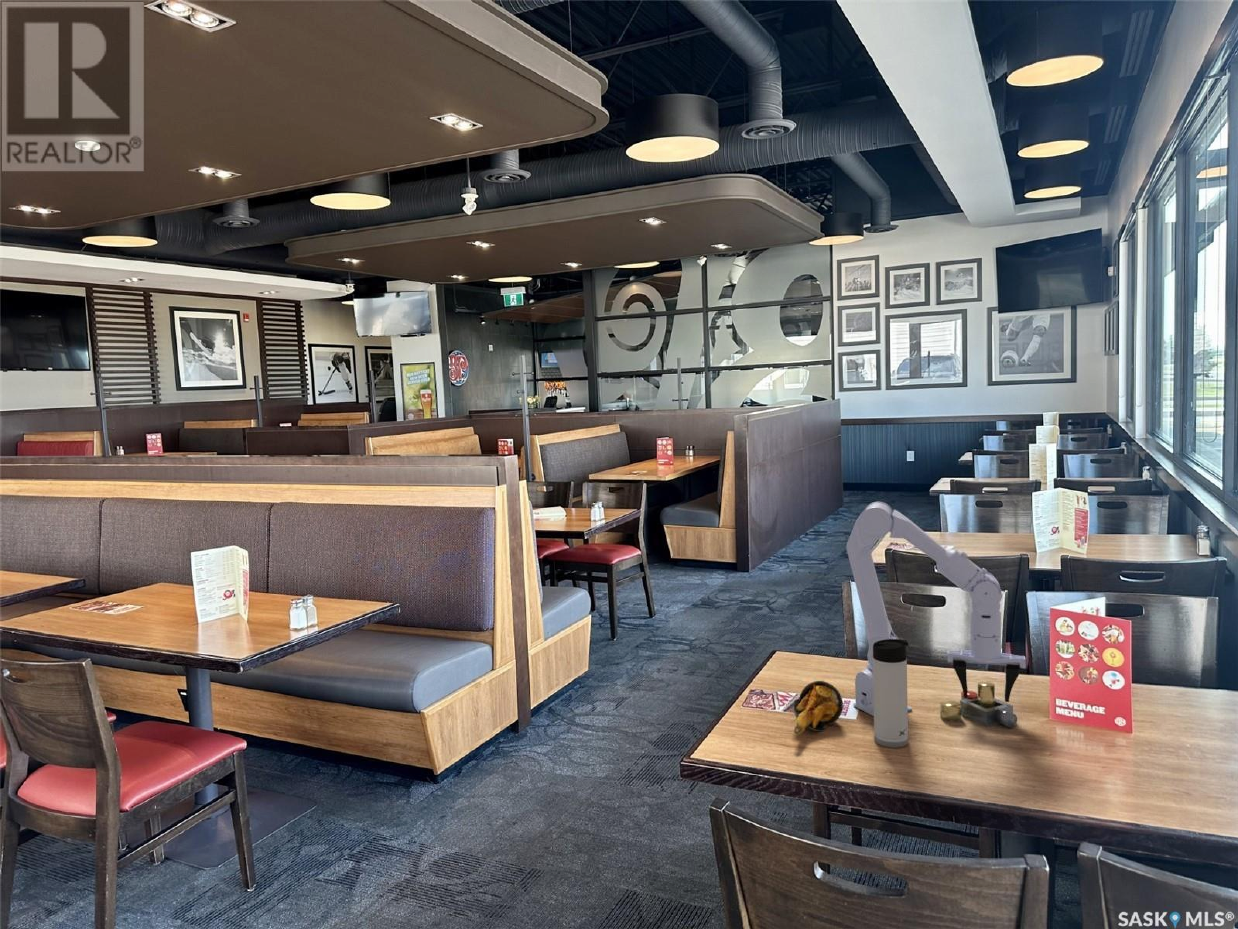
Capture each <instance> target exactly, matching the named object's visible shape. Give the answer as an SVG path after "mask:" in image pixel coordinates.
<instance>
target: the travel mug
mask: <svg viewBox="0 0 1238 929" xmlns="http://www.w3.org/2000/svg"><path fill="white" fill-rule="evenodd" d="M908 646H909V641H908V640H907V639H900V638H898V639H886V640H881V641H877V642H875V643H874V645H873V696H874V716H873V729H874V730H873V734H874V737H873V738H874V741H875V742H876V744H878V745H880V746H883V747H886V748H894V749H895V748H896V749H898V748H903V747H905V746H907V744H909V716H908V713H909V711H908V706H909V705H908V662H907V661H908V658H907V647H908Z"/></svg>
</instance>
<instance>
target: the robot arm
mask: <svg viewBox="0 0 1238 929" xmlns="http://www.w3.org/2000/svg"><path fill="white" fill-rule="evenodd" d="M888 533H890V534H889V538H890V539H891V538H892V539H903V540H905V541H907V542H908V543H910V544H911V545H912V546H914V547H915V548H917V549H918V550H919V551H921V552H922V553H924V555H926V556H928V557H929V558H931V560H933V561H935V562H936V569H937V572H939V574H941V575H942V576H944V577H945V578H946V579H948V580H949V581H950V582H952V583H953V584H954V585H956V586H957V588H959V589H960V590H961V591H964V592H967V593H969V597H970V599H971V608H970V610H969V611H970V612H969V618H970V619H969V621H970V626H969V627H970V628H969V629H970V631H969V633H970V636H969V638H970V641H969V642H970V649H969V650H968V649H967V650H966V649H965V650H947V663H953V666H952V668H953V670H954V672H955V673H956V675H957V678H958V680H959V682H960V685H961V689H962V692H963V693H964V698H968V691H969V690H968V682H967V681H968V680H967V679H968V678H967V663H969V664H979V665H981V664H982V665H993V666H1004V667H1005V671H1004V673H1005V684H1004V686H1005V688H1004V702H1005V703H1009V702H1010V697H1011V693H1012V690H1013V686H1014V684H1015V682H1016V681H1017V679H1018V678H1019V675H1020V672H1021V670H1020V669H1026V666H1027V664H1026V662H1027V660H1026V656H1025V655H1017V654H1016V655H1015V654H1011V653H1006V652H1005V653H1004V652H1002V613H1001V611H1000V609H1001V601H1002V599H1003V593H1002V588H1001V586H1000V583H999V581H998V579H997V578H996V577H995V576H994V575H993V574H992V573H991V572H988V570H987V569H986V568H984V567H982V568H981V567H980V566H978V565H977V564H975V563H974V562H973V561H972V560H970V559H969V558H968V554H967V553H966V552H965V551H964V550H962V551H961V552H960V551H958V550H957V549H946V548H945V547H943V546H942V545H941V544H940V543H938V542H937V541H936V540H935V539H934V538H933V537H931V536H930V535H929V534H928V533H927V532H925V531H924V530H923V529H922V528H920V526H918V525H917V524H915V523H914V522H913V521H912V520H911V519H910V518H908V517H907V516H905V515H904V514H902V513H901V512H900V511H898V510H897V509H893V508H892V507H891V506H890V505H889V504H888V503H886V502H883V501H874V502H871V503H869V504H868V505H867V506H866V507H865V508H864V509H863V511H862V512H861V513H860V514H859V516H858V517H857V519H856V520H855V522H854V525H853V528H852V529H851V533H850V535H849V538H848V540H847V543H846V544H845V545H846V553H847V557H848V559H849V563H850V564H849V565H850V567H851V568H850V569H851V572H852V576H853V580H854V585H855V587H856V590H857V595H858V599H859V603H860V606H861V607H860V608H861V611H862V615H863V620H864V622H865V626H866V628H865V629H866V638H867V643H868V650H867V655H866V656H867V662H866V666H865V668H864V669H863V670H861V671H858V672H857V673H856V675H855V679H854V683H855V684H854V685H855V686H854V687H855V689H854V690H855V702H854V703H853V704H852V706H854V707H855V708H857V709H859V710H861V711H862V712H863V711H864V712H865V713H866V714H868V715H870V716H872V717H874V696H873V645H874V643H875V642H877V641H881V640H886V639H899V637H898V636H897V635H896V634H895V632H894V631H893V628H892V625H891V624H892V623H891V622H890V620H889V619H888V618H889V616H888V615H887V610H886V606H885V602H884V598H883V594H882V590H881V586H880V582H879V579H878V578H879V577H878V575H877V570H876V567H875V563H874V559H873V556H872V549H873V547H874V546H875V544H876V543H877V541H879V540H880V539H882V538H883V537H884V536H886V535H887V534H888ZM912 710H913V707H912V706H910V705H908V712H909V711H912Z"/></svg>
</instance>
